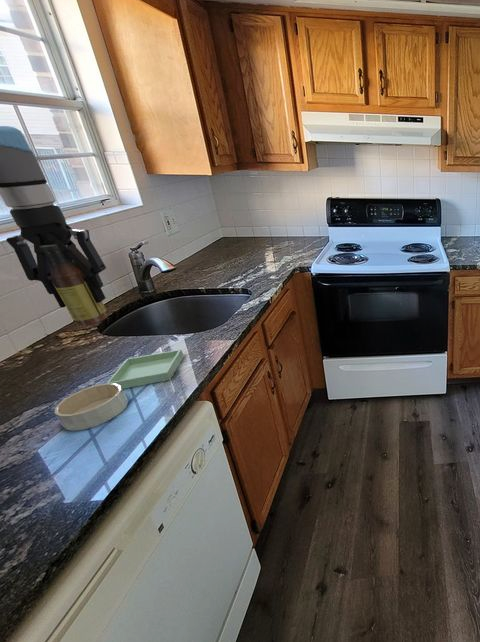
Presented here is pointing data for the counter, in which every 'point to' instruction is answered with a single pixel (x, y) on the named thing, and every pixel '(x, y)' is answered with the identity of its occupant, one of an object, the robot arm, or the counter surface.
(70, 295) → the sauce bottle
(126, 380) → the tray
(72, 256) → the robot arm
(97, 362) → the counter surface
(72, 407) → the bowl
